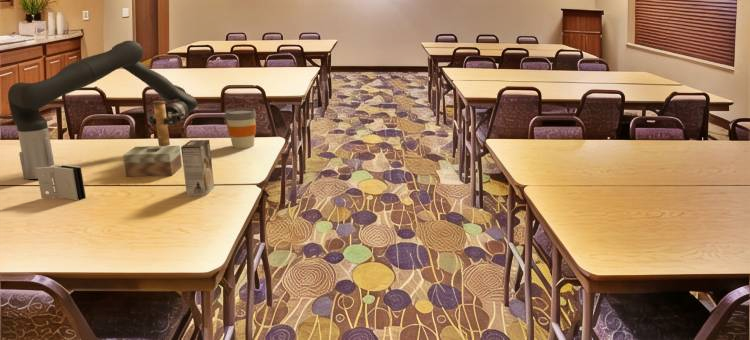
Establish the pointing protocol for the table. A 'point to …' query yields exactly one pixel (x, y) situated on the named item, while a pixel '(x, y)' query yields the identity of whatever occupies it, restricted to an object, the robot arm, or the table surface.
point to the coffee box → (197, 167)
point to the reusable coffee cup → (241, 127)
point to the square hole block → (152, 161)
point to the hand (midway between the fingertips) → (158, 122)
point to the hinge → (61, 182)
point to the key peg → (161, 123)
